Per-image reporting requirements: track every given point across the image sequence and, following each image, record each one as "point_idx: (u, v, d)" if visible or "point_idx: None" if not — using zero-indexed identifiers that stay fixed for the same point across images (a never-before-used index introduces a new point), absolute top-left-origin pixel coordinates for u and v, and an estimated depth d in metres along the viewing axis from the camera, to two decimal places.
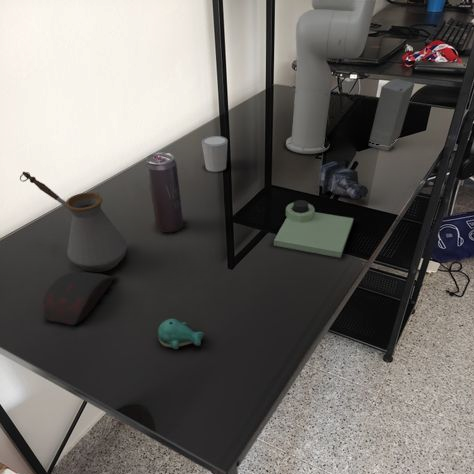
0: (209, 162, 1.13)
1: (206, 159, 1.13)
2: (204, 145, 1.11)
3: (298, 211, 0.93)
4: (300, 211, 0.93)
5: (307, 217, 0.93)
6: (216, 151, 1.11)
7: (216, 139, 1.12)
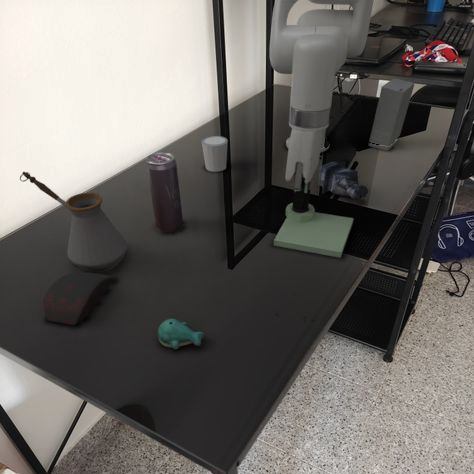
0: (209, 162, 1.13)
1: (206, 159, 1.13)
2: (204, 145, 1.11)
3: None
4: None
5: (307, 217, 0.93)
6: (216, 151, 1.11)
7: (216, 139, 1.12)
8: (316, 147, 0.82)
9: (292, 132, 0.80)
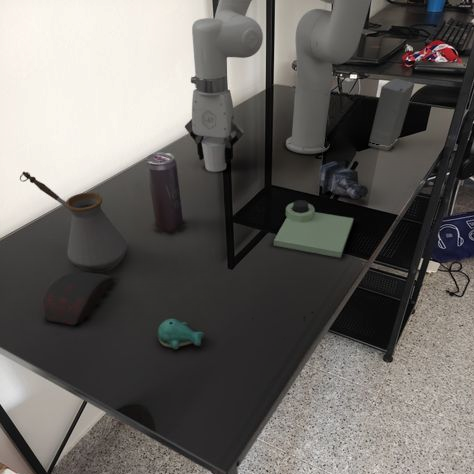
0: (209, 162, 1.13)
1: (206, 159, 1.13)
2: (204, 145, 1.11)
3: (298, 211, 0.93)
4: (300, 211, 0.93)
5: (307, 217, 0.93)
6: (216, 151, 1.11)
7: (216, 139, 1.12)
8: None
9: (224, 96, 1.01)
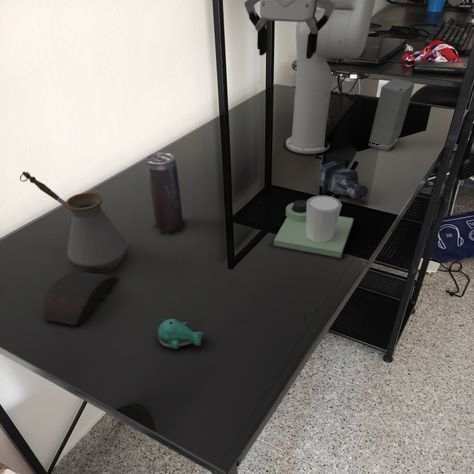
0: (314, 231, 0.86)
1: (311, 226, 0.86)
2: (312, 210, 0.83)
3: (298, 211, 0.93)
4: (300, 211, 0.93)
5: None
6: (327, 218, 0.84)
7: (325, 201, 0.85)
8: None
9: None
